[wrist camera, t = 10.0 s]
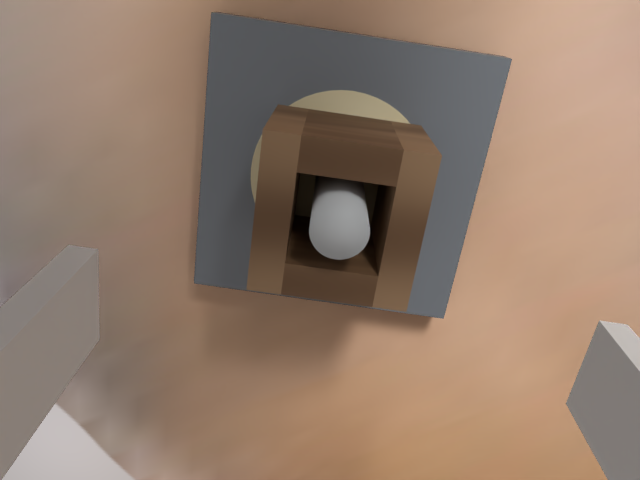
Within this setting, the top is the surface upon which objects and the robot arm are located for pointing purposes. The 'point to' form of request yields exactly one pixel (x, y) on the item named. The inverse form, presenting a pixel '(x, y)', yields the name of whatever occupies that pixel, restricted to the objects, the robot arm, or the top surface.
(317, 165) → the collar
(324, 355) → the top surface
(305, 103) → the post block
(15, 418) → the robot arm
